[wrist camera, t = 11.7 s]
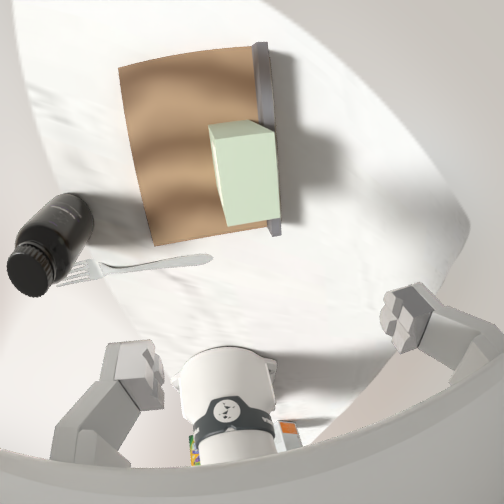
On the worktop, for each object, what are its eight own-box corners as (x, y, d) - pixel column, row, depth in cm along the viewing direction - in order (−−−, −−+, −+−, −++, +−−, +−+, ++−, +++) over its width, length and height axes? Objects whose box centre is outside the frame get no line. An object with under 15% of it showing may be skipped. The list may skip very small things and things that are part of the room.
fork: (233, 265, 38) (235, 273, 36) (61, 282, 34) (57, 289, 33) (232, 243, 36) (234, 250, 35) (53, 262, 32) (49, 270, 31)
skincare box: (295, 421, 65) (308, 461, 55) (284, 429, 66) (296, 467, 56) (277, 419, 62) (290, 462, 52) (266, 427, 63) (277, 468, 53)
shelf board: (273, 219, 35) (283, 234, 32) (155, 240, 34) (152, 258, 30) (260, 47, 25) (269, 41, 21) (121, 69, 23) (111, 65, 20)
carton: (248, 119, 27) (274, 132, 19) (254, 179, 31) (281, 217, 22) (207, 125, 27) (214, 139, 18) (216, 185, 30) (227, 226, 22)
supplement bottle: (88, 187, 29) (44, 236, 18) (100, 240, 32) (71, 305, 22) (39, 197, 28) (-12, 247, 17) (54, 247, 31) (16, 308, 21)
